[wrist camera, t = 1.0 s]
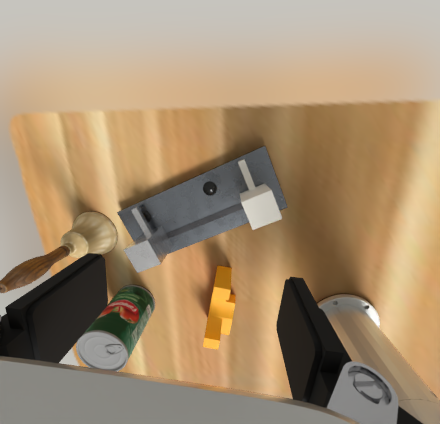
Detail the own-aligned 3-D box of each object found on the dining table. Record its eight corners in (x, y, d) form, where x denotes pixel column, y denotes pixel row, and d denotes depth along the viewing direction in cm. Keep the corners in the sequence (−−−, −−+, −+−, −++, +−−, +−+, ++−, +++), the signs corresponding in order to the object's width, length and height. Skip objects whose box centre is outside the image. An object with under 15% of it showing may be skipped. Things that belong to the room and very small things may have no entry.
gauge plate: (285, 205, 33) (299, 218, 26) (149, 258, 38) (129, 282, 30) (263, 146, 31) (272, 143, 24) (121, 210, 35) (93, 224, 28)
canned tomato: (127, 321, 42) (91, 377, 32) (109, 290, 40) (65, 338, 30) (161, 312, 41) (136, 367, 30) (145, 280, 39) (112, 326, 28)
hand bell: (100, 203, 35) (-2, 240, 20) (126, 243, 37) (50, 305, 22) (64, 222, 37) (-56, 271, 22) (91, 260, 39) (-3, 329, 23)
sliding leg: (273, 207, 32) (282, 218, 26) (249, 216, 32) (252, 230, 26) (253, 154, 30) (258, 155, 24) (228, 166, 30) (226, 168, 25)
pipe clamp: (229, 321, 41) (228, 351, 34) (207, 317, 41) (202, 346, 34) (241, 269, 37) (242, 292, 31) (217, 264, 37) (214, 286, 31)
